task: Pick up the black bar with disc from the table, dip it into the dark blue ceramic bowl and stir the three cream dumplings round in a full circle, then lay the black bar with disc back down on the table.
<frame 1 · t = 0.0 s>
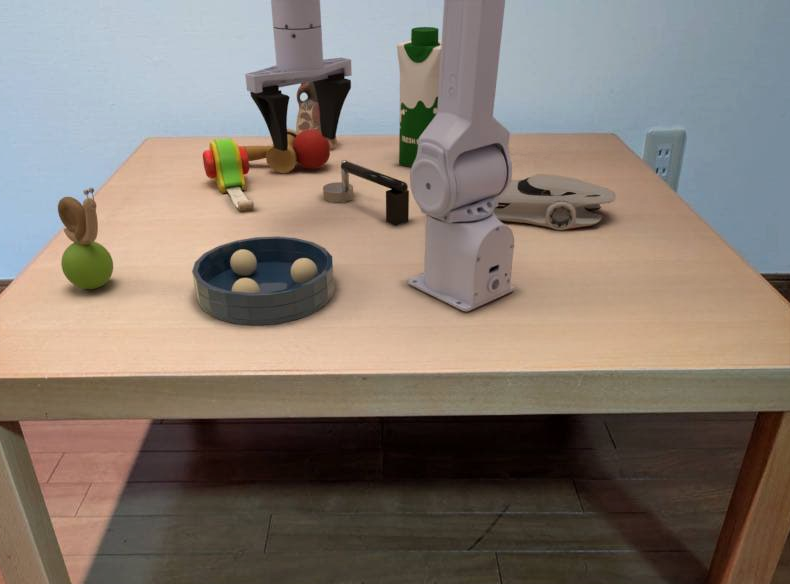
hand: (305, 143, 95), 10 cm above the table, tool pointing down, fingers open, 7 cm apart
dumpling b: (245, 292, 78), point 2 cm above the table, touching bowl
milk carton: (428, 164, 120), on the table
snail figurine: (96, 289, 84), on the table
dumpling a: (243, 262, 84), point 2 cm above the table, touching bowl
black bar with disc: (338, 197, 107), on the table
toy measuring tape: (233, 191, 110), on the table
car model: (521, 214, 101), on the table
bowl: (266, 292, 82), on the table
kendama: (275, 168, 119), on the table
dumpling c: (304, 271, 82), point 2 cm above the table, touching bowl
figurine: (316, 147, 128), on the table
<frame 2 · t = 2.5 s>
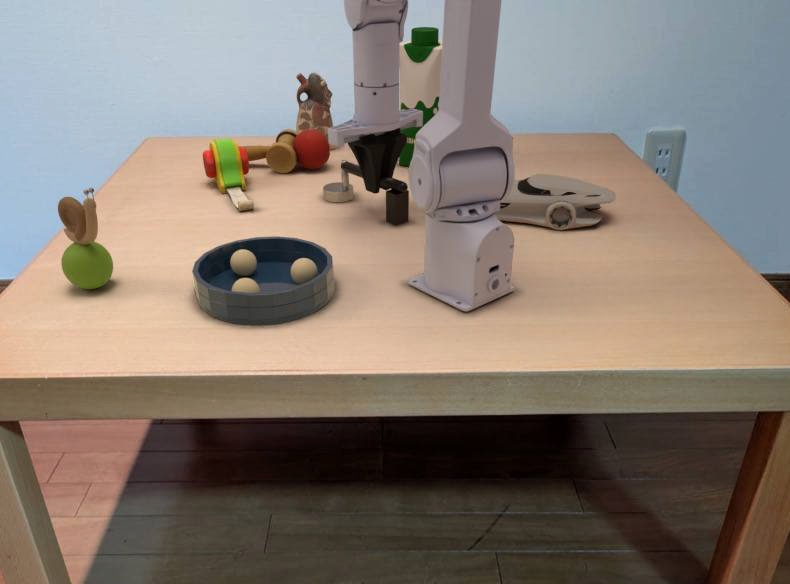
hand: (377, 189, 100), 3 cm above the table, tool pointing down, fingers closed on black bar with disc
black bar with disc: (338, 197, 107), on the table, touching gripper
everything else where it was.
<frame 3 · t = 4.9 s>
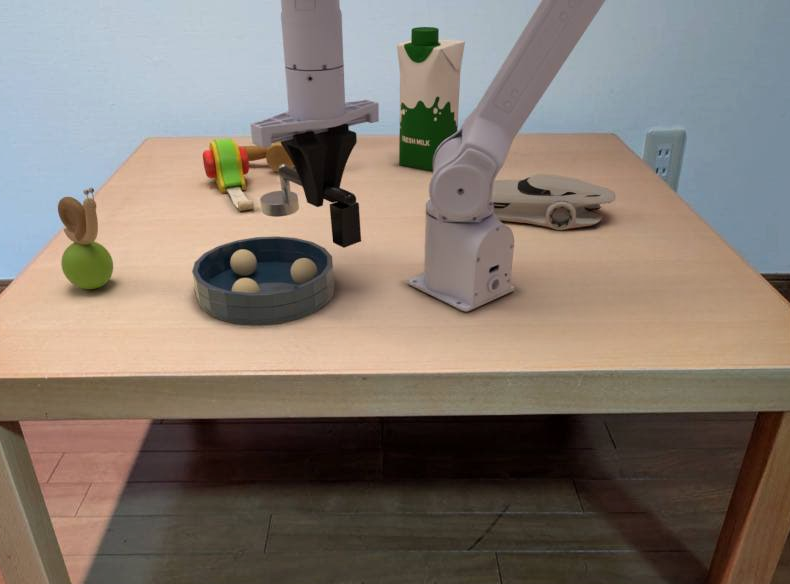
hand: (322, 201, 79), 9 cm above the table, tool pointing down, fingers closed on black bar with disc
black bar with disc: (280, 209, 87), point 6 cm above the table, touching gripper
everything else where it was.
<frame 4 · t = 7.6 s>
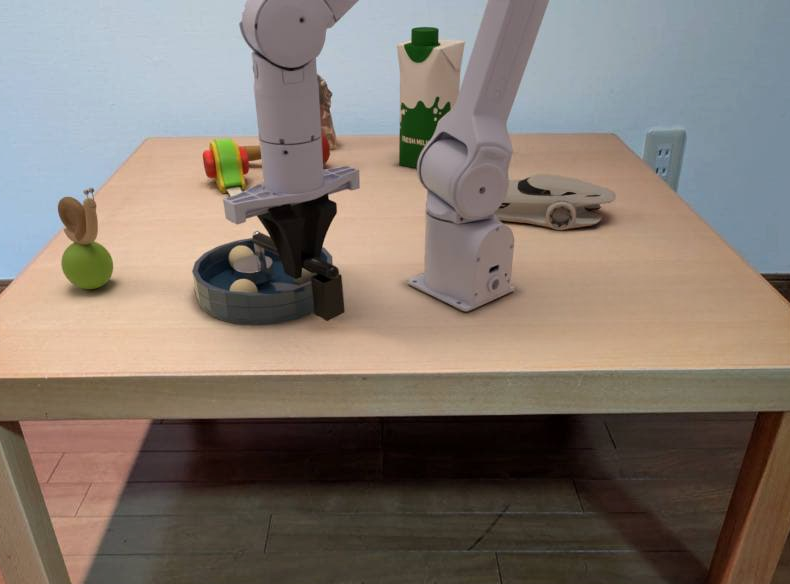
hand: (301, 272, 75), 5 cm above the table, tool pointing down, fingers closed on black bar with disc
dumpling b: (243, 293, 77), point 2 cm above the table, tilted 12°, touching bowl
dumpling a: (241, 258, 85), point 2 cm above the table, tilted 45°, touching bowl, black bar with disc
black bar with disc: (254, 275, 82), point 1 cm above the table, touching dumpling a, gripper
everything else where it was.
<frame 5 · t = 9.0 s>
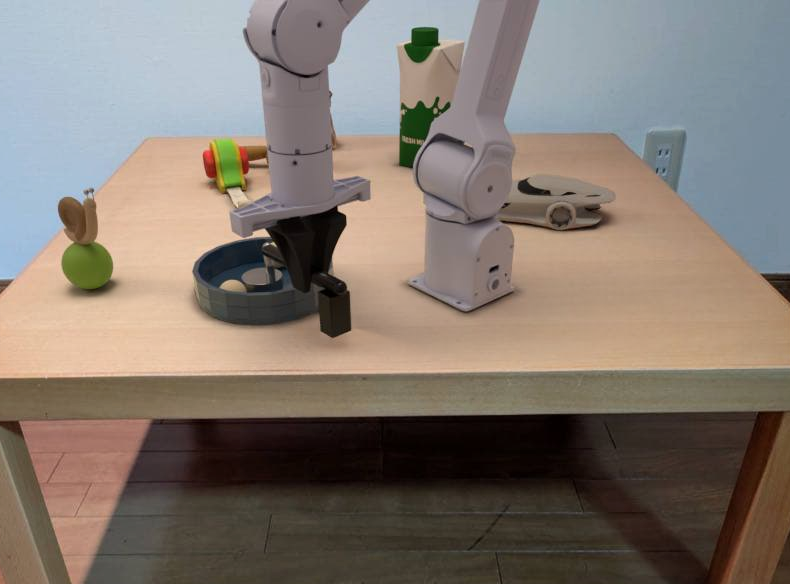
hand: (309, 286, 72), 5 cm above the table, tool pointing down, fingers closed on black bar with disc
dumpling b: (232, 294, 77), point 2 cm above the table, tilted 51°, touching bowl
dumpling a: (276, 254, 85), point 2 cm above the table, tilted 127°, touching bowl
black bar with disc: (263, 288, 80), point 1 cm above the table, touching gripper
dumpling c: (311, 273, 81), point 2 cm above the table, tilted 35°, touching bowl
everything else where it was.
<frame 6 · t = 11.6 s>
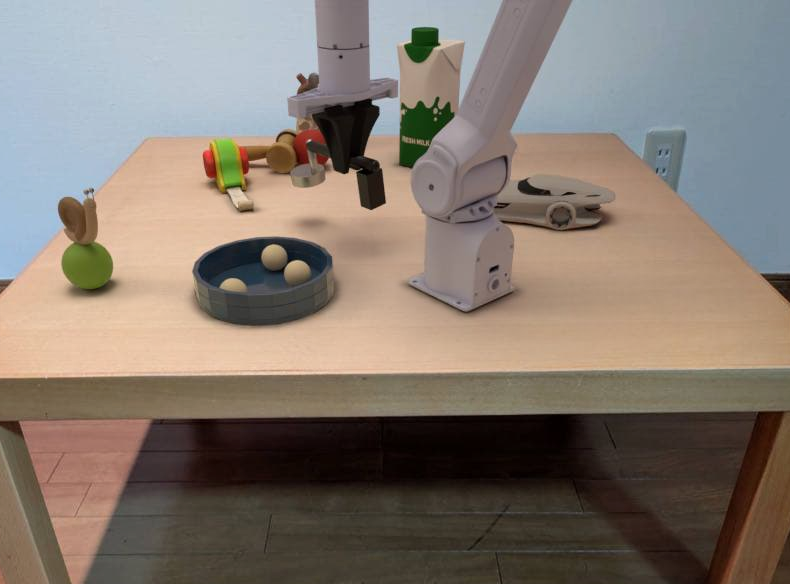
hand: (347, 170, 88), 9 cm above the table, tool pointing down, fingers closed on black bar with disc
dumpling a: (274, 257, 85), point 2 cm above the table, tilted 95°, touching bowl
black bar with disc: (309, 180, 96), point 6 cm above the table, tilted 7°, touching gripper
dumpling c: (297, 274, 81), point 2 cm above the table, tilted 31°, touching bowl
everything else where it was.
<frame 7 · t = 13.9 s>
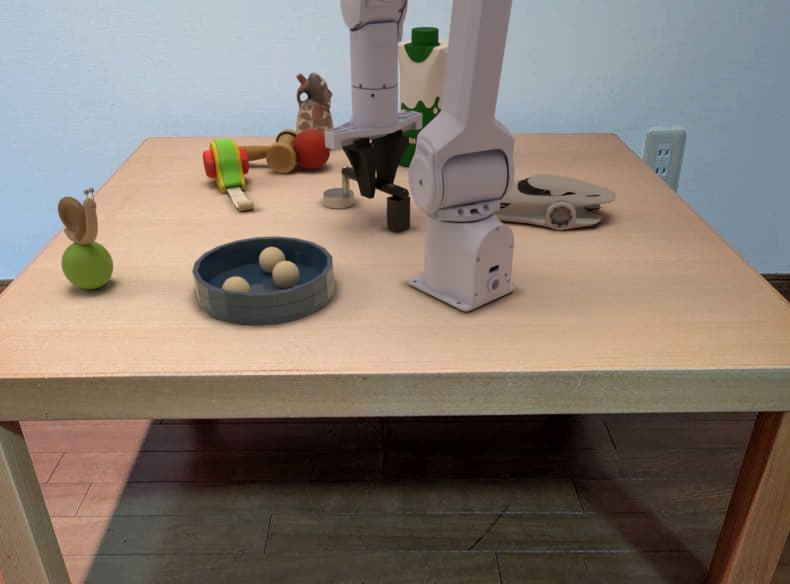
hand: (376, 193, 97), 4 cm above the table, tool pointing down, fingers closed
dumpling b: (236, 290, 78), point 2 cm above the table, tilted 37°, touching bowl
dumpling a: (272, 260, 84), point 2 cm above the table, tilted 68°, touching bowl
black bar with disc: (339, 203, 105), on the table, touching gripper
dumpling c: (285, 274, 81), point 2 cm above the table, tilted 76°, touching bowl
everything else where it was.
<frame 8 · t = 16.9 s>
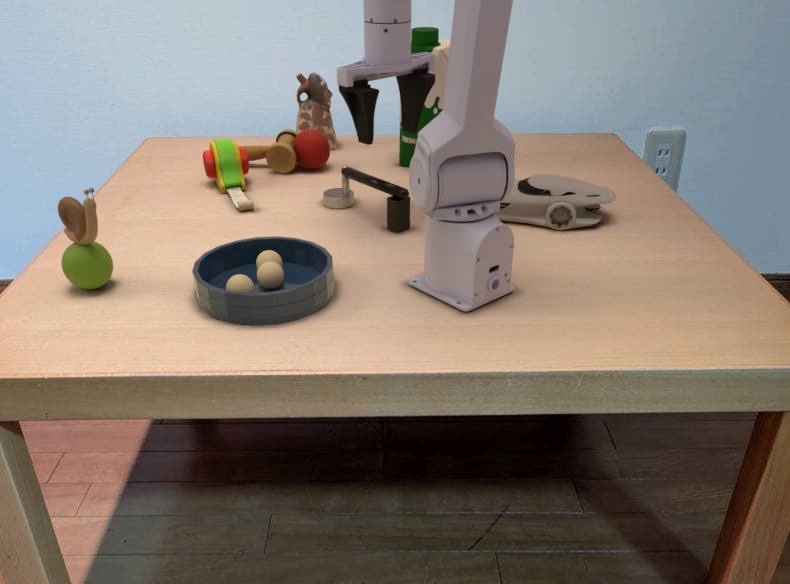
hand: (388, 137, 95), 10 cm above the table, tool pointing down, fingers open, 7 cm apart
dumpling a: (269, 263, 83), point 2 cm above the table, tilted 31°, touching bowl
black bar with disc: (339, 203, 105), on the table
dumpling c: (270, 275, 81), point 2 cm above the table, tilted 137°, touching bowl
everything else where it was.
at the end: dumpling a moved 3.0 cm from its start; dumpling a inside the target area in the bowl (3.0 cm from its centre), point 2.1 cm above the bowl's base; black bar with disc inside the target area (0.6 cm from its centre), on the table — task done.
